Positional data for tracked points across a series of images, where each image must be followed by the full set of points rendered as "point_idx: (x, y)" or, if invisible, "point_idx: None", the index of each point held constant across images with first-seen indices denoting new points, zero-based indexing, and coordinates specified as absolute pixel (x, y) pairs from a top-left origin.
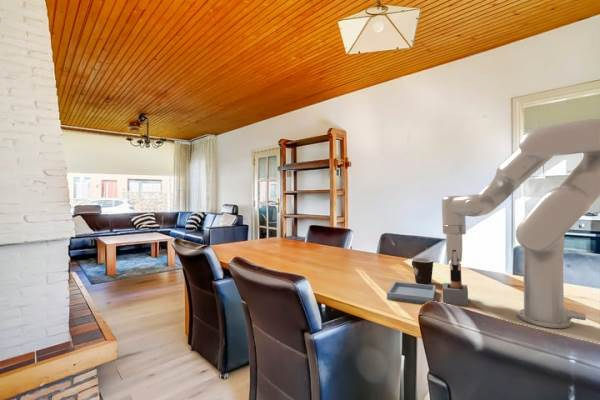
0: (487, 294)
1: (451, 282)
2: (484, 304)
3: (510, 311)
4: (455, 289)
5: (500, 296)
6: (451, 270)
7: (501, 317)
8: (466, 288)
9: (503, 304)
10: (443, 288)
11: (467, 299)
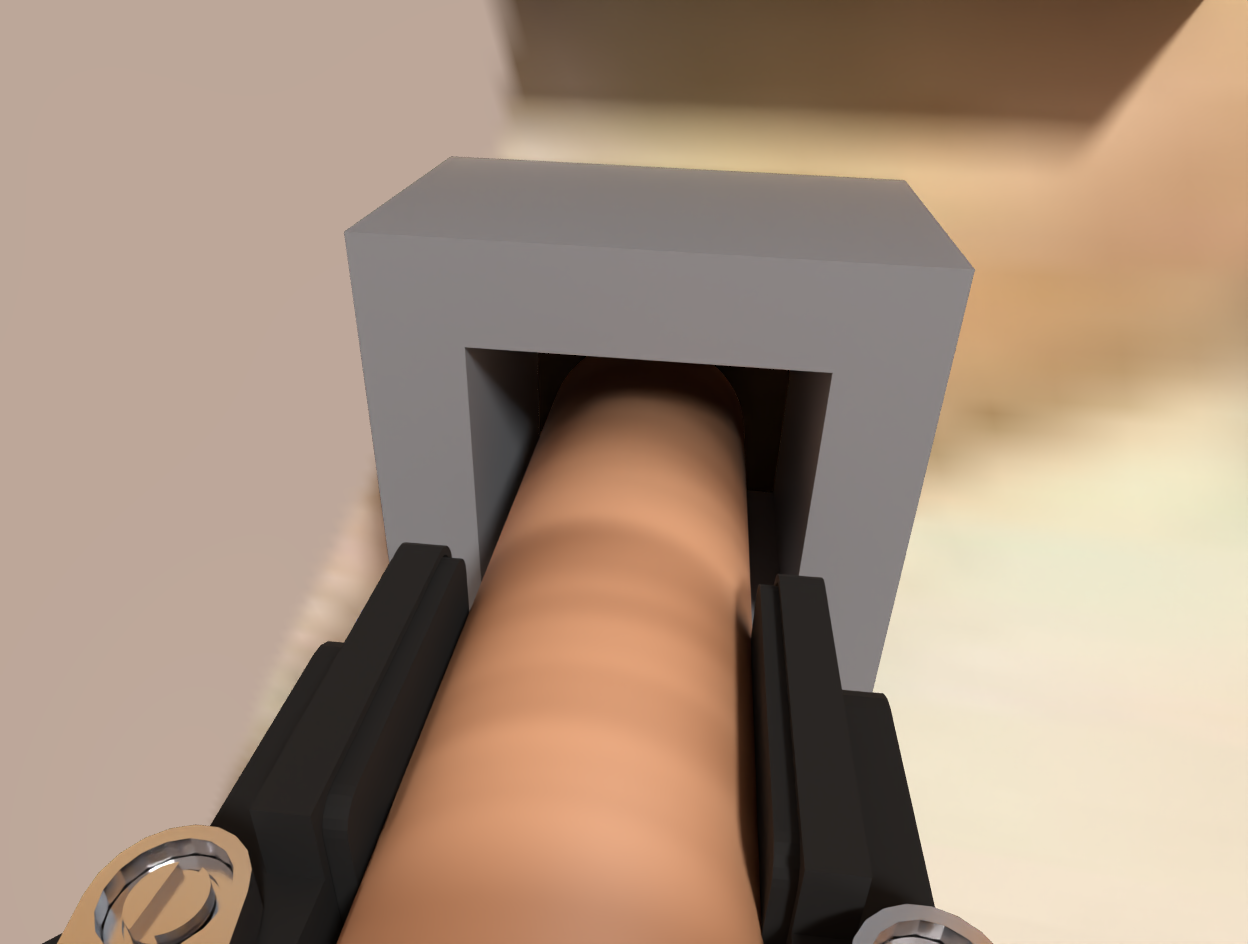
0: (1100, 803)
1: (539, 510)
2: None
3: None
4: (422, 503)
5: (1024, 897)
6: (256, 822)
7: (242, 759)
8: None
9: None
10: (375, 255)
11: None
